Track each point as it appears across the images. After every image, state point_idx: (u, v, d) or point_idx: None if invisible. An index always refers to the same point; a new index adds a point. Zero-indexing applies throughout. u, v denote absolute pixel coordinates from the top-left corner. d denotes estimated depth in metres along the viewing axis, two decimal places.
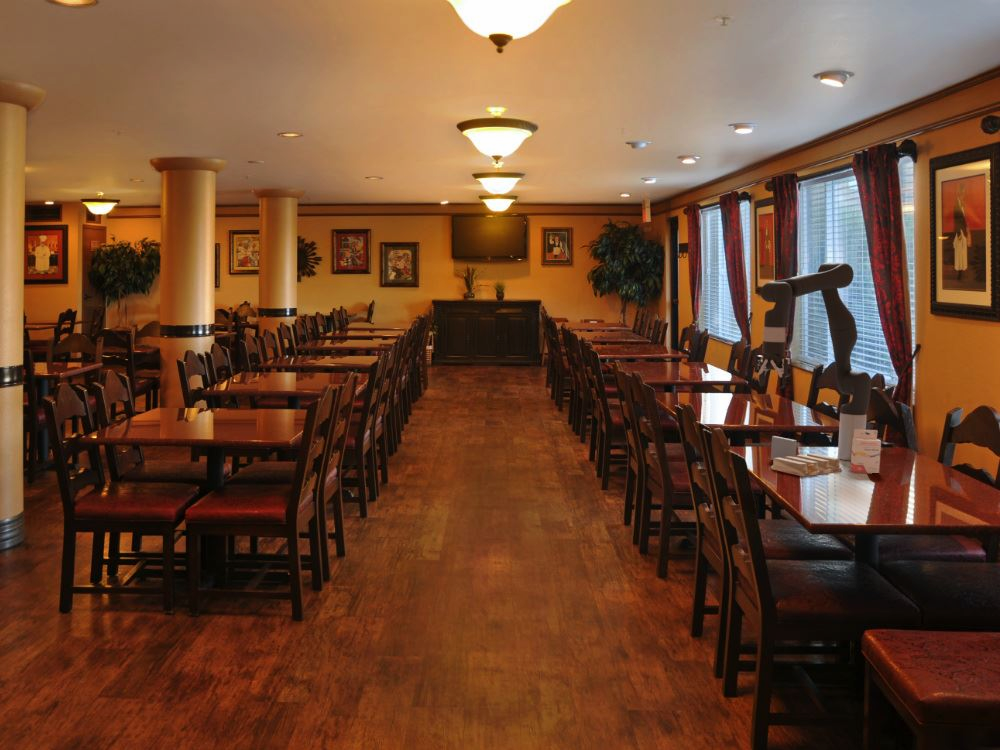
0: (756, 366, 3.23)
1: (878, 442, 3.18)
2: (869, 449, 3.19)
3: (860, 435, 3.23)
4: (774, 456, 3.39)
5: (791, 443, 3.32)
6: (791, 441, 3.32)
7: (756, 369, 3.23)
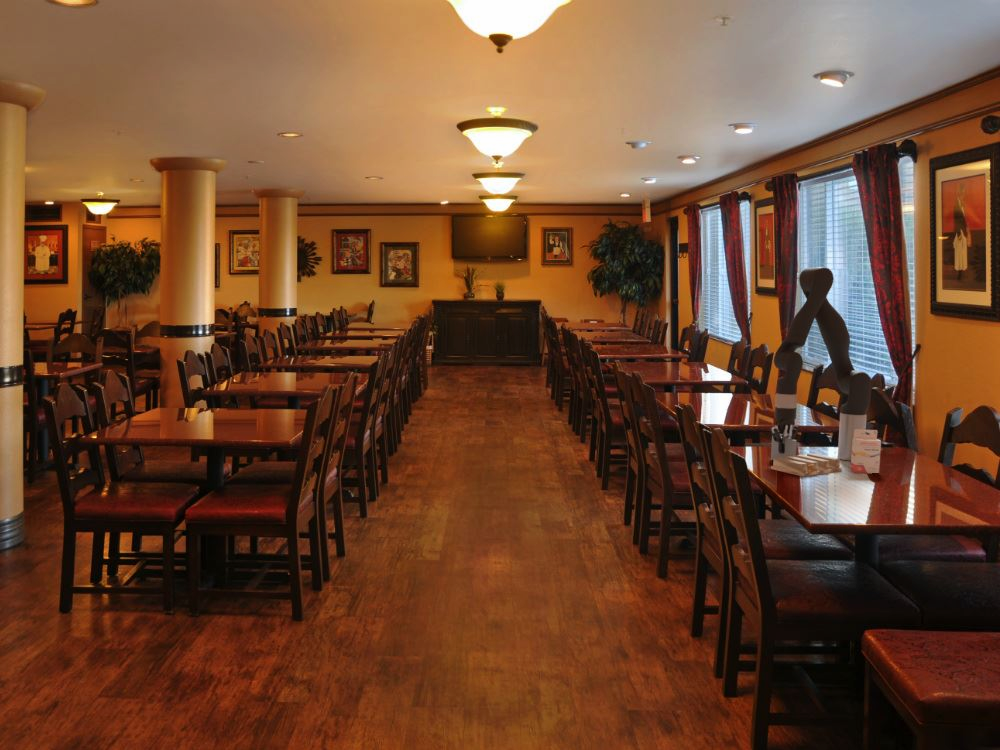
0: (779, 436, 3.32)
1: (878, 442, 3.18)
2: (869, 449, 3.19)
3: (860, 435, 3.23)
4: (774, 456, 3.39)
5: (791, 443, 3.32)
6: (791, 441, 3.32)
7: (781, 439, 3.33)
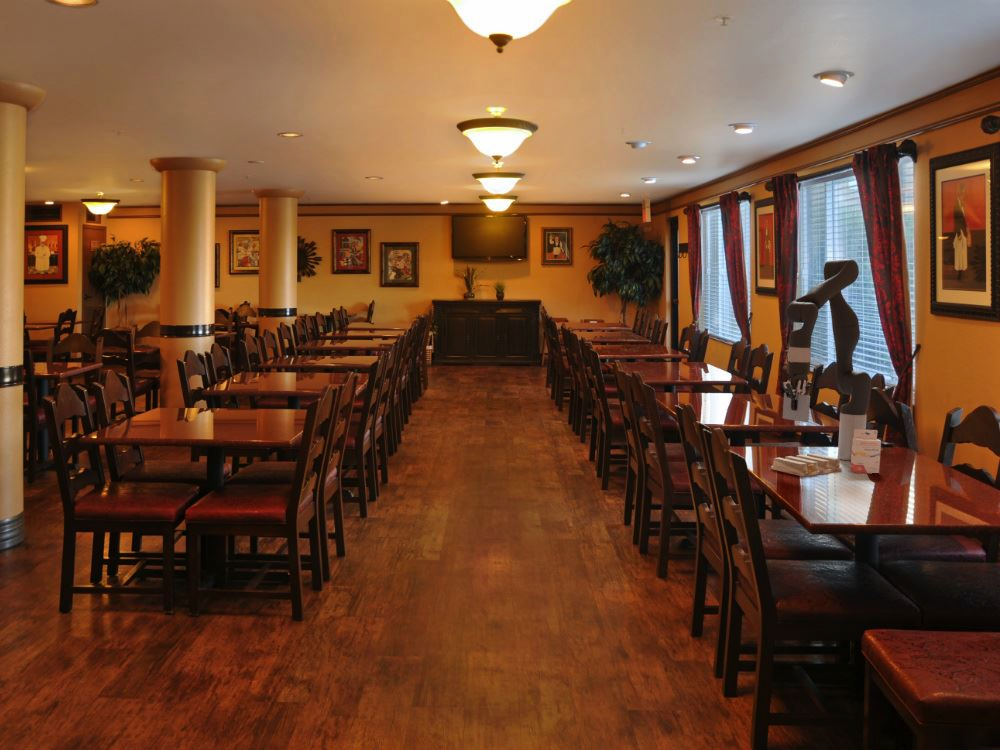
0: (792, 392, 3.16)
1: (878, 442, 3.18)
2: (869, 449, 3.19)
3: (860, 435, 3.23)
4: (786, 413, 3.22)
5: (804, 399, 3.15)
6: (804, 397, 3.15)
7: (793, 394, 3.17)
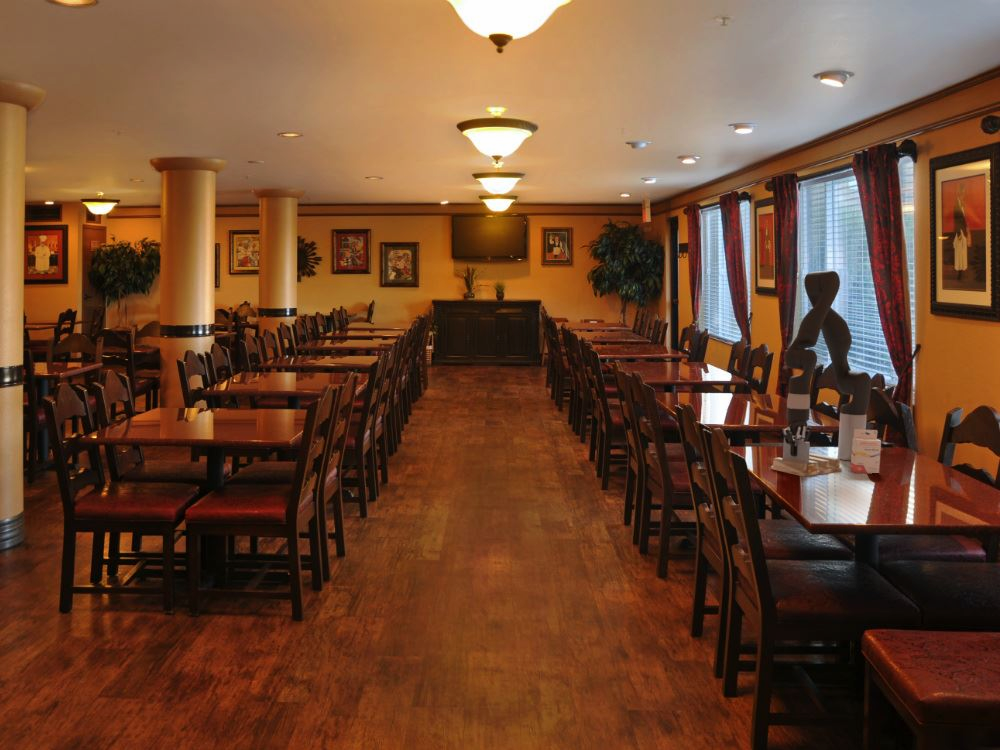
0: (791, 438, 3.17)
1: (878, 442, 3.18)
2: (869, 449, 3.19)
3: (860, 435, 3.23)
4: None
5: (804, 445, 3.16)
6: (804, 443, 3.16)
7: (793, 441, 3.17)
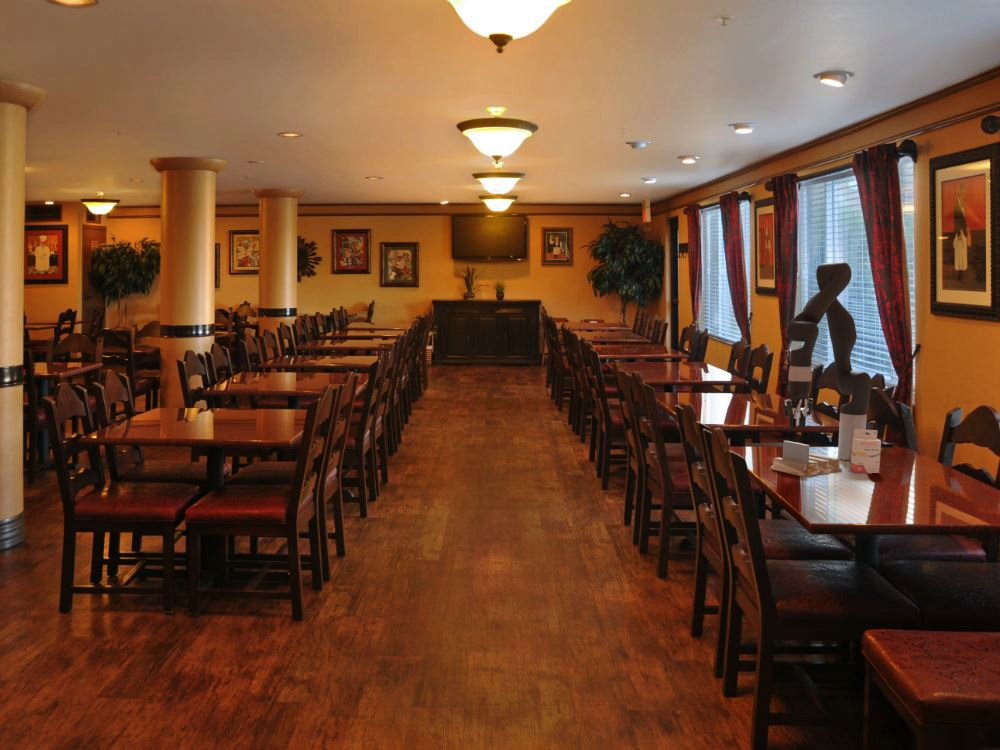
0: (791, 410, 3.15)
1: (878, 442, 3.18)
2: (869, 449, 3.19)
3: (860, 435, 3.23)
4: None
5: (804, 448, 3.16)
6: (804, 446, 3.16)
7: (792, 413, 3.16)
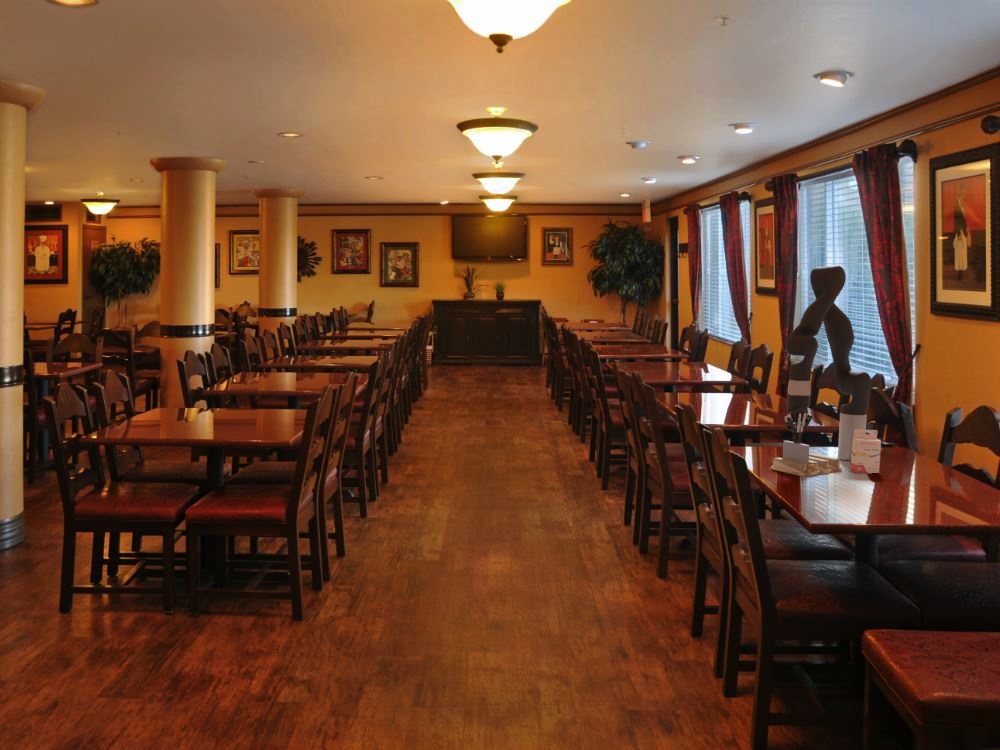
0: (793, 425, 3.16)
1: (878, 442, 3.18)
2: (869, 449, 3.19)
3: (860, 435, 3.23)
4: None
5: (804, 448, 3.16)
6: (804, 446, 3.16)
7: (795, 427, 3.17)
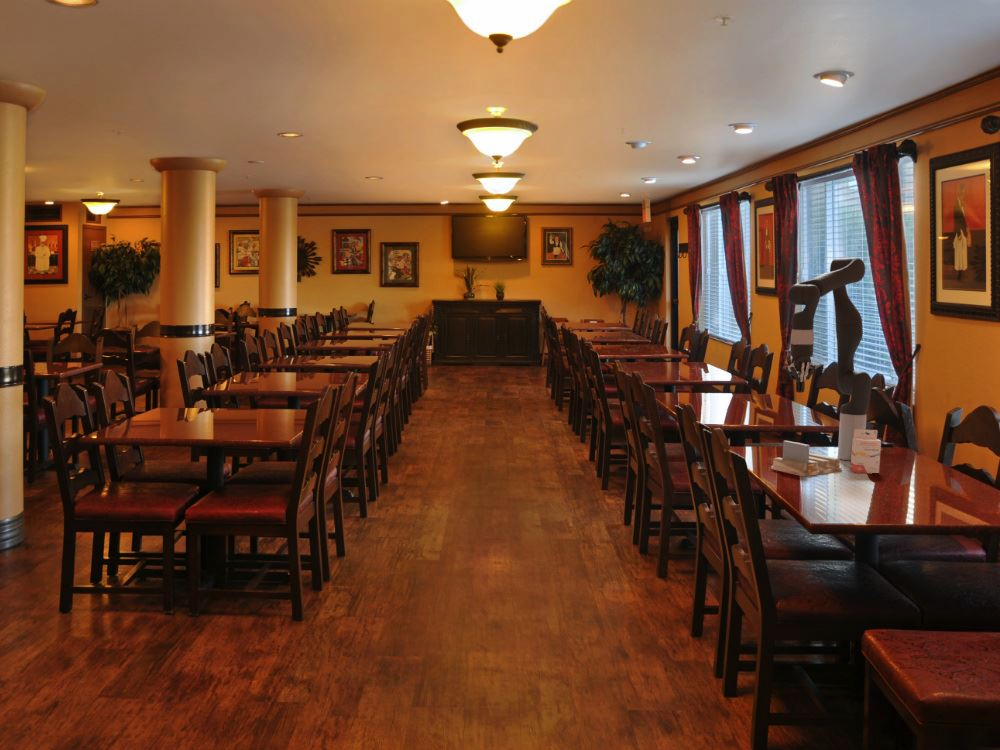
0: (796, 374, 3.17)
1: (878, 442, 3.18)
2: (869, 449, 3.19)
3: (860, 435, 3.23)
4: None
5: (804, 448, 3.16)
6: (804, 446, 3.16)
7: (798, 377, 3.17)
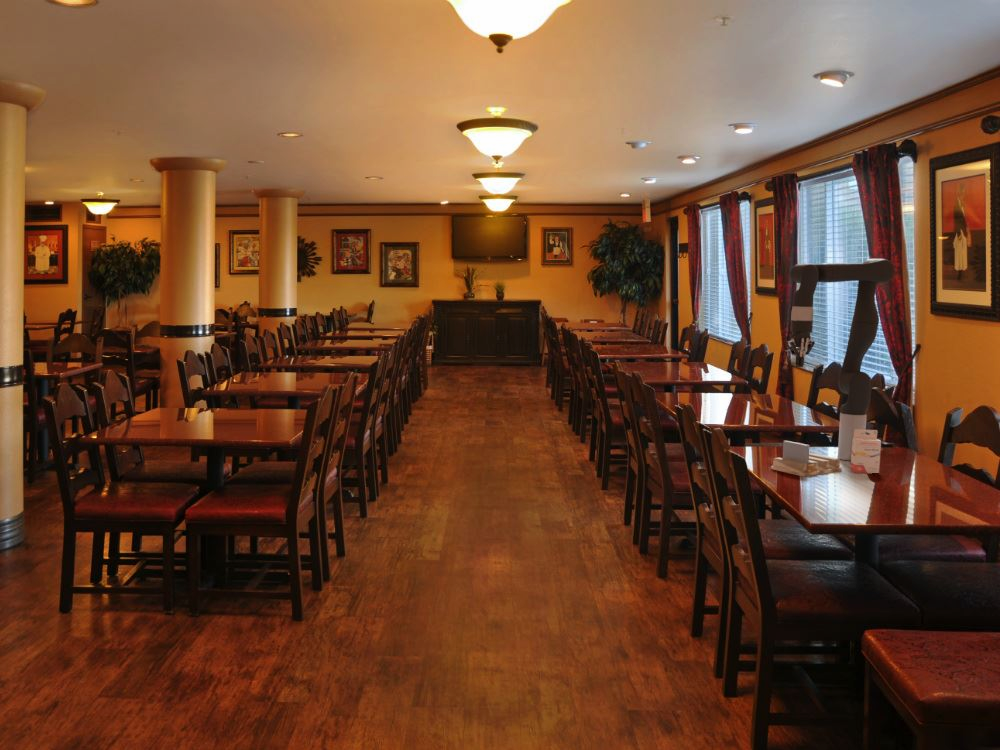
0: (796, 349, 3.31)
1: (878, 442, 3.18)
2: (869, 449, 3.19)
3: (860, 435, 3.23)
4: None
5: (804, 448, 3.16)
6: (804, 446, 3.16)
7: (798, 352, 3.32)
